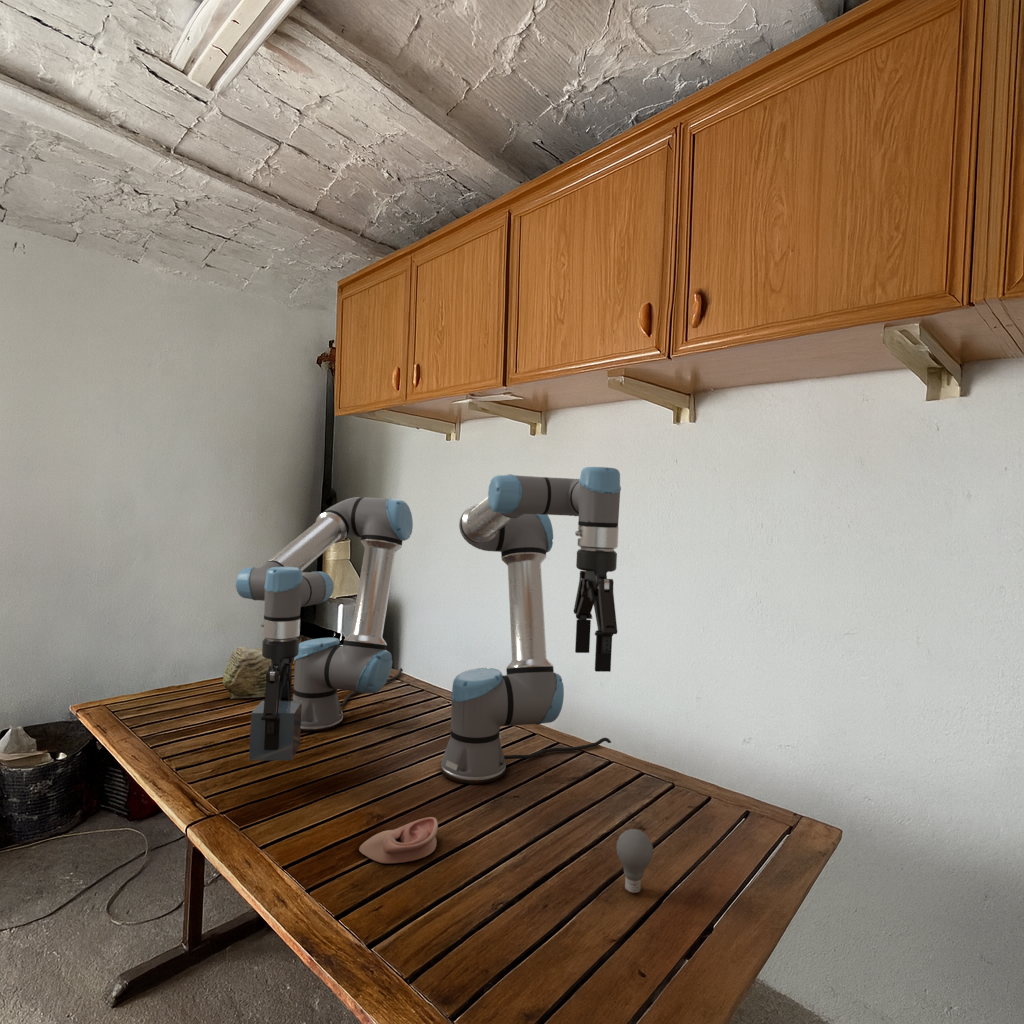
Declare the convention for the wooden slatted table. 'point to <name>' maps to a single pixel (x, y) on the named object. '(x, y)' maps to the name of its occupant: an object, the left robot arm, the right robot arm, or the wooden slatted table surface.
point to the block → (287, 732)
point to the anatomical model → (403, 842)
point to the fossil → (246, 673)
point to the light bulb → (634, 857)
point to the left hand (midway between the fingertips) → (276, 741)
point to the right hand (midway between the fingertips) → (591, 661)
